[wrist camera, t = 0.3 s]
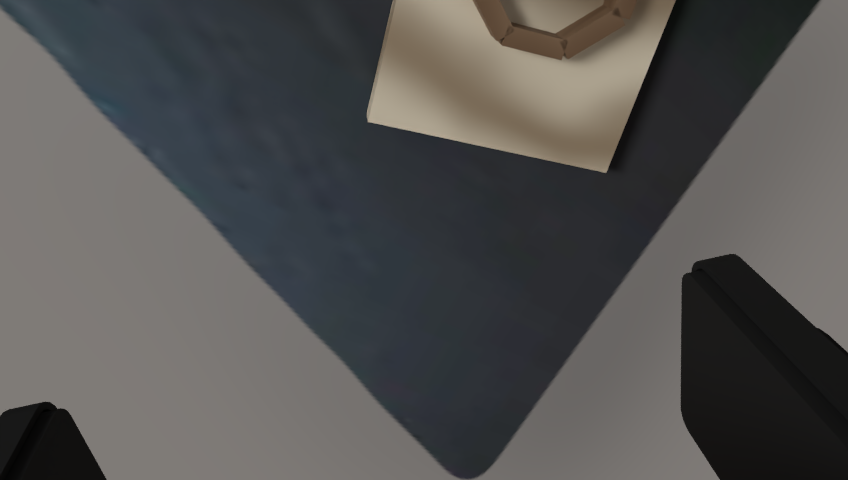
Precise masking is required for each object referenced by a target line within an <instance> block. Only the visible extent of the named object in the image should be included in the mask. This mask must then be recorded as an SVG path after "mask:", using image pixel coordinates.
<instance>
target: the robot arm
mask: <svg viewBox="0 0 848 480" xmlns="http://www.w3.org/2000/svg"><path fill="white" fill-rule="evenodd" d="M681 412H682V417H683V420H684V422H685V425H686V427H687V429H688V431H689V433H690V434H691V436H692V437H693V439H694V440H695V442H696V443H697V445H698V447H699V448H700V450H701V451H702V453H703V454H704V456H705V457H706V459H707V460H708V462H709V464H710V465H711V467H712V468H713V470H714V471H715V473H716V474H717V476H718V477H719V479H720V480H848V353H847V352H846V351H845V350H844V349H843V348H842V347H841V346H840V345H839V344H838V343H836V341H834V340H833V339H832V338H831V337H830V336H829V335H828V334H826V333H825V332H823V331H822V330H820V329H819V328H816V327H815V326H813V324H812V323H810V322H809V321H808V320H807V319H806V318H805V317H804V316H803V315H802V314H801V313H800V312H798V311H797V310H796V309H795V308H794V307H793V306H792V305H791V304H790V303H789V302H787V300H786V299H784V298H783V297H782V296H781V295H780V294H779V293H778V292H777V291H776V290H775V289H774V288H773V287H771V286H770V285H769V284H768V283H767V282H766V281H765V280H764V279H763V278H762V277H761V276H760V275H759V274H757V273H756V272H755V271H754V270H753V269H752V268H751V267H750V266H749V265H747V263H746V262H744V261H743V260H742V259H741V258H740V257H739V256H737V255H736V254H729V255H724V256H719V257H715V258H711V259H706V260H701V261H697V262H695V263H694V265H693V267H692V272H691V273H686V274H685V275H684V276H683V278H682V323H681ZM0 480H106V478H105V476H104V474H103V472H102V471H101V469H100V467H99V465H98V463H97V462H96V460H95V458H94V456H93V454H92V453H91V451H90V449H89V447H88V446H87V444H86V442H85V440H84V438H83V437H82V435H81V433H80V431H79V429H78V427H77V426H76V424H75V422H74V420H73V419H72V417H71V415H70V414H69V412H68V411H67V410H65V409H57V408H56V406H55V405H53V404H52V403H50V402H42V403H38V404H32V405H28V406H23V407H19V408H14V409H9V410H7V411H5V412H3V413H2V415H1V416H0Z"/></svg>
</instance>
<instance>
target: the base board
mask: <svg viewBox="0 0 848 480" xmlns="http://www.w3.org/2000/svg"><path fill="white" fill-rule="evenodd" d="M675 1H676V0H393V2H392V6H391V10H390V15H389V19H388V23H387V28H386V32H385V36H384V41H383V45H382V49H381V54H380V58H379V62H378V67H377V71H376V75H375V80H374V84H373V88H372V93H371V97H370V101H369V106H368V110H367V118H368V122H371V123H376V124H381V125H385V126H390V127H395V128H399V129H404V130H409V131H413V132H418V133H423V134H427V135H432V136H437V137H441V138H446V139H451V140H455V141H460V142H465V143H469V144H474V145H479V146H483V147H488V148H493V149H497V150H502V151H507V152H511V153H516V154H521V155H525V156H530V157H535V158H539V159H544V160H549V161H553V162H558V163H563V164H567V165H572V166H577V167H581V168H586V169H591V170H595V171H600V172H605V173H606V172H607V170H608V167H609V165H610V162H611V160H612V157H613V155H614V152H615V150H616V147H617V145H618V142H619V140H620V137H621V135H622V132H623V130H624V127H625V125H626V122H627V120H628V118H629V115H630V113H631V110H632V108H633V105H634V103H635V100H636V98H637V95H638V93H639V90H640V88H641V85H642V83H643V80H644V78H645V75H646V73H647V70H648V68H649V65H650V63H651V60H652V58H653V55H654V53H655V51H656V48H657V46H658V43H659V41H660V38H661V36H662V33H663V31H664V28H665V26H666V23H667V21H668V18H669V16H670V13H671V11H672V8H673V6H674V3H675Z"/></svg>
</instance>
